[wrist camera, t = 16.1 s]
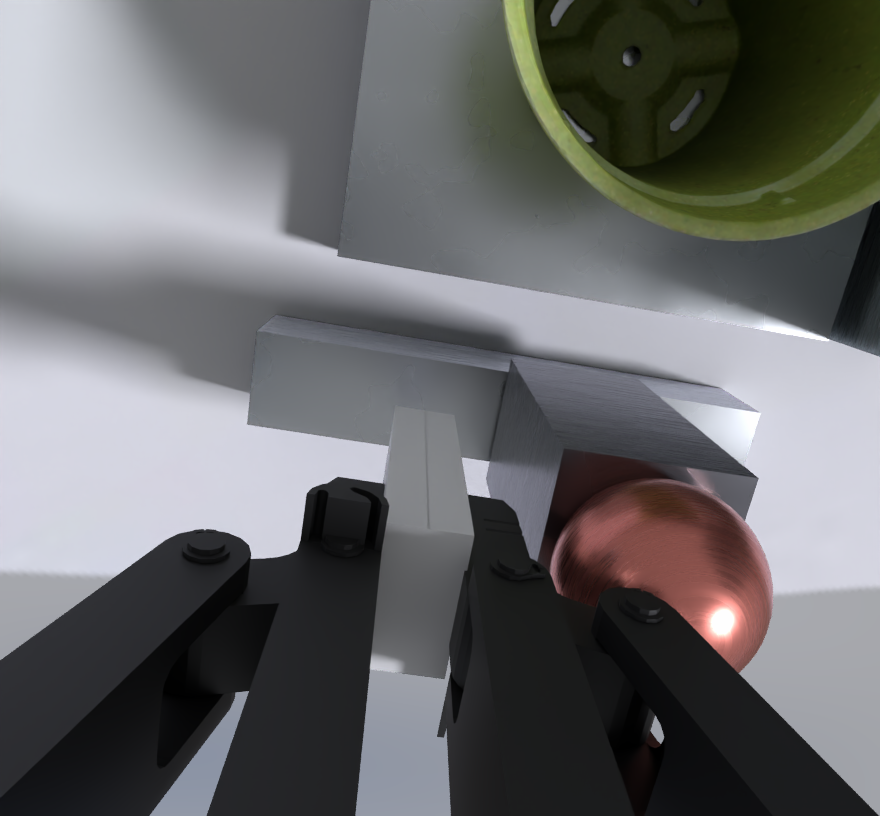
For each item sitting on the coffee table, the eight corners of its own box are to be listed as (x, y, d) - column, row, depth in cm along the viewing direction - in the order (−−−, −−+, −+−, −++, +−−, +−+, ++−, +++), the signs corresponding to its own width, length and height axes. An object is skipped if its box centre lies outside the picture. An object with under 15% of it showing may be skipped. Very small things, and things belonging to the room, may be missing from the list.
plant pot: (604, -220, 18) (760, -564, 10) (858, 15, 20) (1168, -111, 12) (402, 96, 20) (392, 28, 12) (649, 285, 22) (787, 338, 14)
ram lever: (486, 479, 23) (549, 735, 12) (511, 358, 21) (606, 520, 11) (606, 497, 23) (776, 763, 12) (637, 379, 22) (853, 557, 11)
